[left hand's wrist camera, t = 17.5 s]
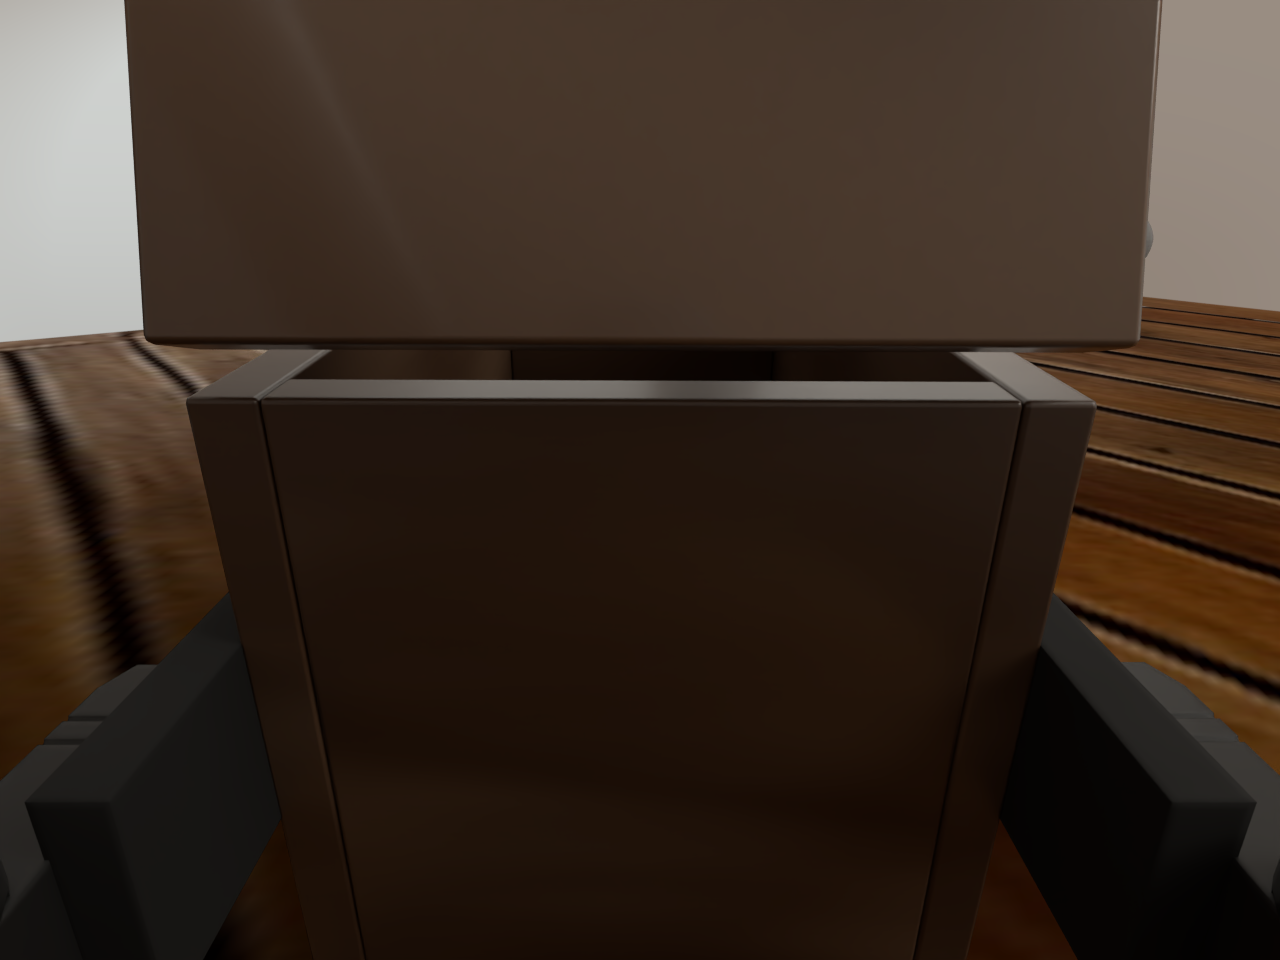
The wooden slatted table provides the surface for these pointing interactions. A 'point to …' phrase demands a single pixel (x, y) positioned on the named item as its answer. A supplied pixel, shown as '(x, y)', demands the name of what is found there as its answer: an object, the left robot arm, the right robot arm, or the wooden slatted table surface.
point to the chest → (640, 640)
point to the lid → (643, 174)
